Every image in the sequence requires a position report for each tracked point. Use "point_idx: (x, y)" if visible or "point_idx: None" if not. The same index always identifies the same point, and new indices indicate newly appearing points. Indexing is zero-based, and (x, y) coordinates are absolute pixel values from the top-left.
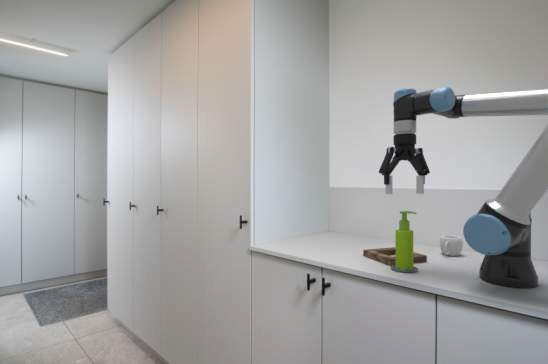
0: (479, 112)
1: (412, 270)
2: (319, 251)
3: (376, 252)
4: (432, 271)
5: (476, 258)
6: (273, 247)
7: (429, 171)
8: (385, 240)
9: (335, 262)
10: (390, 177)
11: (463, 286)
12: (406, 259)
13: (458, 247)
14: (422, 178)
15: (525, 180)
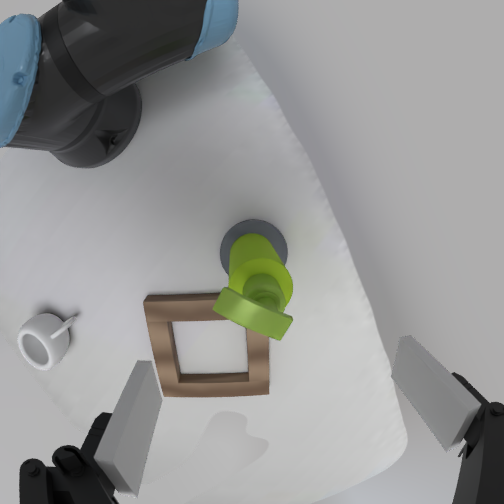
0: None
1: (250, 225)
2: (335, 425)
3: (255, 365)
4: (194, 217)
5: (27, 284)
6: (389, 448)
7: (21, 469)
8: None
9: (364, 345)
10: (471, 397)
11: (218, 101)
12: (264, 240)
13: (40, 316)
14: (115, 440)
15: None
